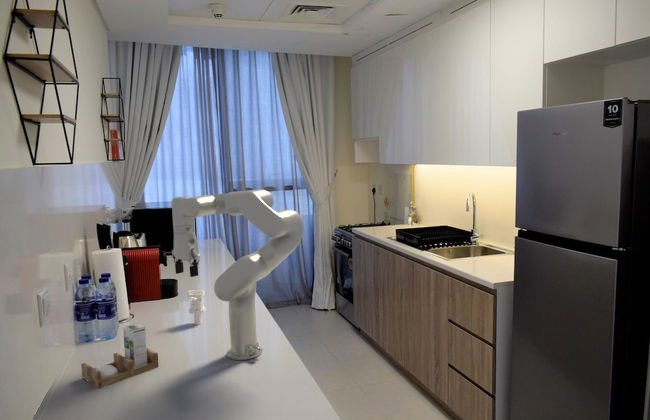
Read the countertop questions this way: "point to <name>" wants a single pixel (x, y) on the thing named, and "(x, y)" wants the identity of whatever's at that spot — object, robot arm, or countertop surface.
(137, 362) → the syrup box
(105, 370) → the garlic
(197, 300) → the white slotted cylinder
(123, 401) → the countertop surface
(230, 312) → the robot arm
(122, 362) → the rack
